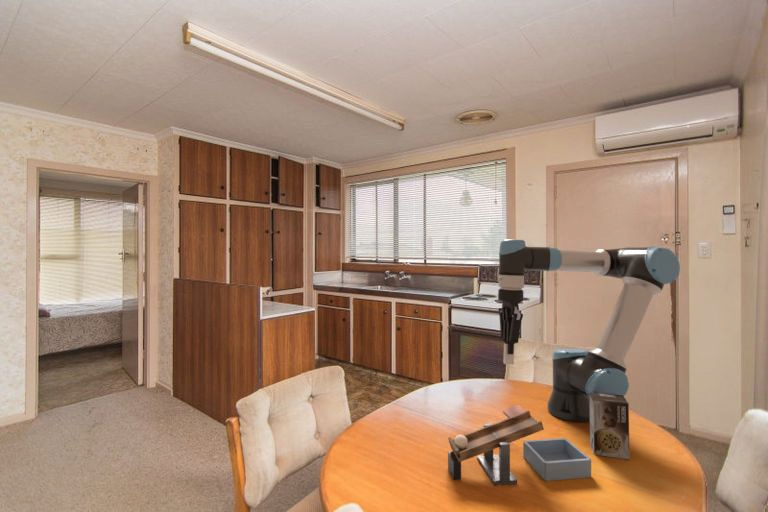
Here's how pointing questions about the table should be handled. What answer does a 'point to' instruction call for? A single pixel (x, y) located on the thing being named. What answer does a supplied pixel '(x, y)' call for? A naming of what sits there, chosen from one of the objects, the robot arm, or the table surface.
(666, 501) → the table surface
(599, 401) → the coffee box
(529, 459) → the dish
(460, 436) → the ball
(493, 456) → the fulcrum
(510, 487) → the table surface
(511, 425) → the lever
